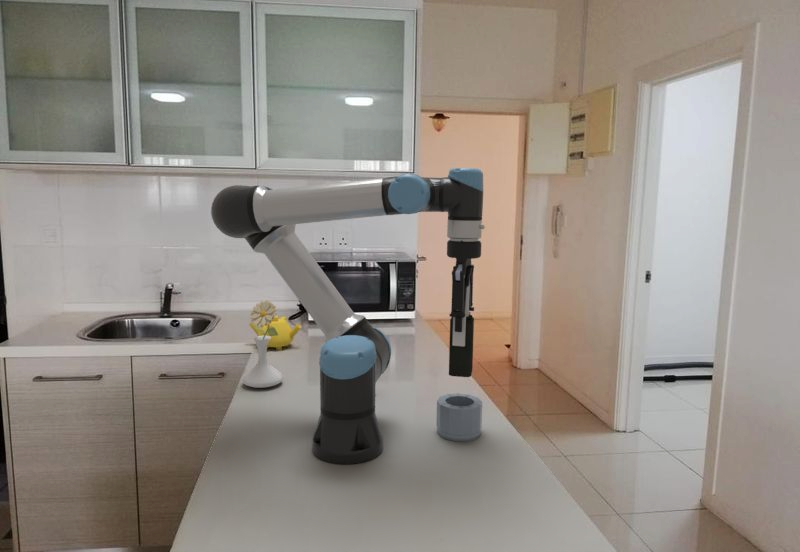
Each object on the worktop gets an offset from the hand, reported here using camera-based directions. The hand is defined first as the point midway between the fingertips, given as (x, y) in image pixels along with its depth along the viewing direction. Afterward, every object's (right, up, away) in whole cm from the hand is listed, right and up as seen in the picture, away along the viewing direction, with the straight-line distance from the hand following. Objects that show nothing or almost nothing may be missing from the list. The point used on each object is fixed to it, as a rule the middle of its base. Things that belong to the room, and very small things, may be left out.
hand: (461, 342), depth 127 cm
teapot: (-59, -11, +75) cm, 95 cm away
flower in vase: (-53, -16, +33) cm, 64 cm away
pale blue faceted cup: (0, -21, +3) cm, 21 cm away
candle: (0, -7, +1) cm, 7 cm away
